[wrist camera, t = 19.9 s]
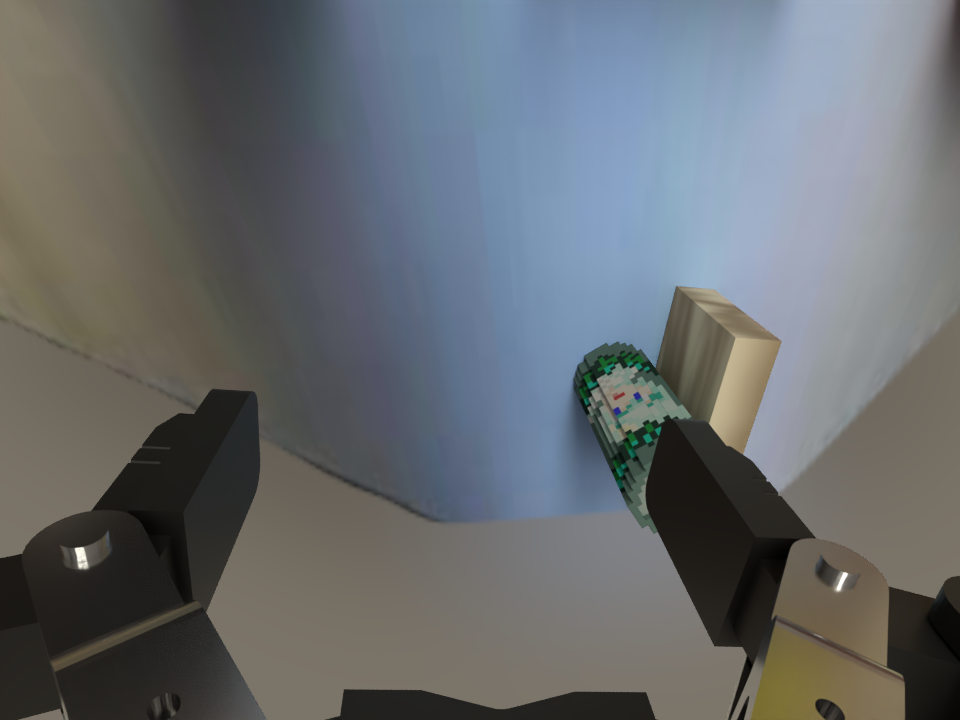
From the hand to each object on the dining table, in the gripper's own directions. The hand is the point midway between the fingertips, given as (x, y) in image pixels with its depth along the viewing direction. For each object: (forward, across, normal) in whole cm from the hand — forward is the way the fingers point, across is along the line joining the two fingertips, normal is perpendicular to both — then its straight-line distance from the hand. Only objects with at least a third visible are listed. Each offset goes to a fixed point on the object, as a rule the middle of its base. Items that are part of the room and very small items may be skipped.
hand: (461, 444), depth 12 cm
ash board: (+33, -20, +14) cm, 41 cm away
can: (+33, -15, +14) cm, 39 cm away
